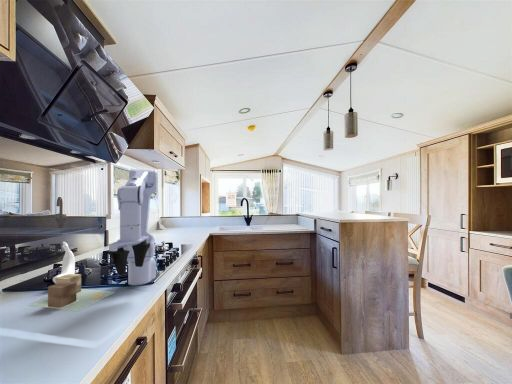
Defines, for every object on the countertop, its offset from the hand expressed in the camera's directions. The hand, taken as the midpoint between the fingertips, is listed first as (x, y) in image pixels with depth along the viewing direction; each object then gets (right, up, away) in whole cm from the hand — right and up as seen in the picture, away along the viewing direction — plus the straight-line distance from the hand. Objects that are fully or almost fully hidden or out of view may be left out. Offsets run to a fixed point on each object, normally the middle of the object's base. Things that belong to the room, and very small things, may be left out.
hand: (130, 270), depth 75 cm
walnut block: (-18, -8, -4) cm, 20 cm away
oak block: (-22, -9, +4) cm, 24 cm away
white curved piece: (-31, -10, +15) cm, 36 cm away
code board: (-17, -10, 0) cm, 19 cm away
